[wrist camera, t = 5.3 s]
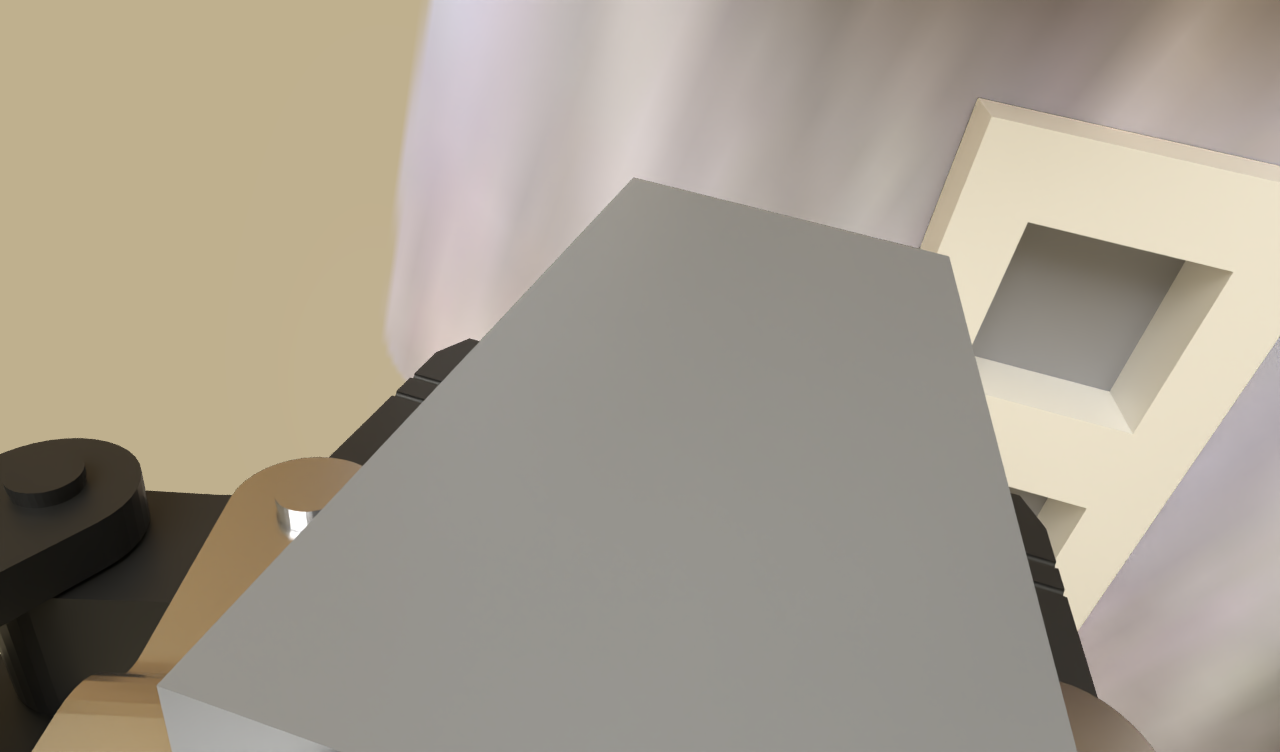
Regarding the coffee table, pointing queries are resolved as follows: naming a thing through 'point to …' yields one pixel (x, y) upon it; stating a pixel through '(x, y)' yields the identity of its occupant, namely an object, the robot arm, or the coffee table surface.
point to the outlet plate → (1106, 314)
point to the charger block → (664, 524)
